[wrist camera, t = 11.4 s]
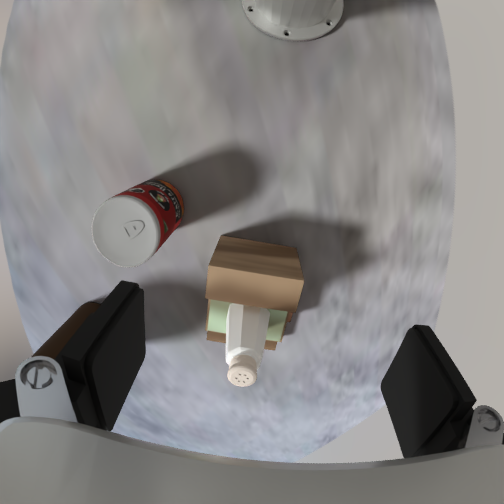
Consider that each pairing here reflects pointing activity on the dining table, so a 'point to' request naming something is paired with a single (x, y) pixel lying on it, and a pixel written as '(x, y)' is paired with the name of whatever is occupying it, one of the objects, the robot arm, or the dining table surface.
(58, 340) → the olive oil
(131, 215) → the canned food
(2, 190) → the dining table surface
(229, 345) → the pepper shaker
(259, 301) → the stand
